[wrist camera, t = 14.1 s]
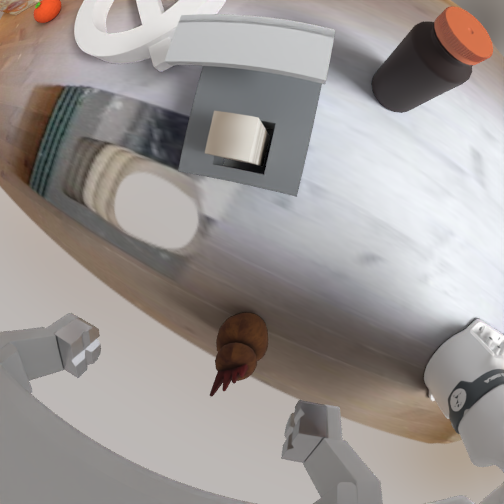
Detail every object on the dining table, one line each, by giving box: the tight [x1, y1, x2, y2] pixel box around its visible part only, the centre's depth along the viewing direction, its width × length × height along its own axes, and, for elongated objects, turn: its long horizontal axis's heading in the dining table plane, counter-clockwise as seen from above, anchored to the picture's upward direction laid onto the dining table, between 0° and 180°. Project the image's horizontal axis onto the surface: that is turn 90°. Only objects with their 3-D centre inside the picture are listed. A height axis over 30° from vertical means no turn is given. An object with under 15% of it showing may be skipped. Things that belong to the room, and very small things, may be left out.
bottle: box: [372, 6, 493, 113], centre depth 19 cm, size 7×7×20 cm
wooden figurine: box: [210, 312, 268, 396], centre depth 33 cm, size 7×6×15 cm
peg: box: [205, 111, 270, 166], centre depth 28 cm, size 4×4×12 cm
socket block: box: [165, 14, 335, 197], centre depth 26 cm, size 14×16×14 cm
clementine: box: [34, 0, 61, 23], centre depth 25 cm, size 8×7×7 cm
